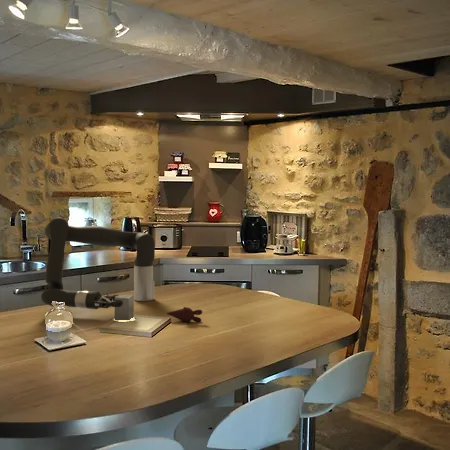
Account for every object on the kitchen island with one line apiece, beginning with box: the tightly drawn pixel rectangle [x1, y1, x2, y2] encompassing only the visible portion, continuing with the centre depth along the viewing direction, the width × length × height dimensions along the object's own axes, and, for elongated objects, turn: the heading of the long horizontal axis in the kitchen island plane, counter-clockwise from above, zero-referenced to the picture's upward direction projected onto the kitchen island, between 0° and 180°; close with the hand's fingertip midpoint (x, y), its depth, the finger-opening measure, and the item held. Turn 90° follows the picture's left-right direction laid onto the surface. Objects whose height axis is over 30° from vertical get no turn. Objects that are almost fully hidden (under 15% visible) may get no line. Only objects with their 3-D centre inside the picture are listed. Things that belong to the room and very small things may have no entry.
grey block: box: [114, 293, 135, 320], centre depth 221 cm, size 6×6×10 cm
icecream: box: [166, 306, 203, 323], centre depth 221 cm, size 7×7×15 cm
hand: (124, 302), depth 221 cm, fingers open, 8 cm apart
